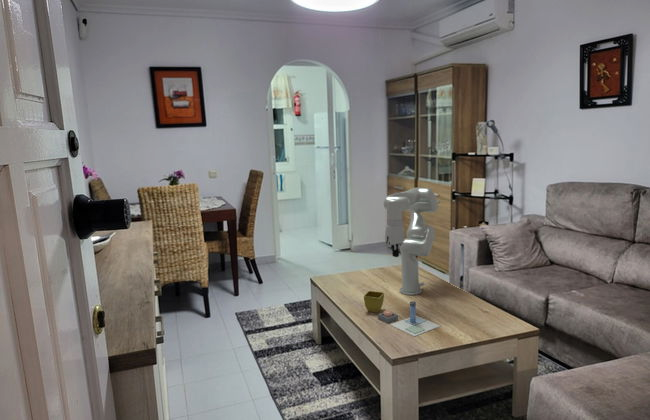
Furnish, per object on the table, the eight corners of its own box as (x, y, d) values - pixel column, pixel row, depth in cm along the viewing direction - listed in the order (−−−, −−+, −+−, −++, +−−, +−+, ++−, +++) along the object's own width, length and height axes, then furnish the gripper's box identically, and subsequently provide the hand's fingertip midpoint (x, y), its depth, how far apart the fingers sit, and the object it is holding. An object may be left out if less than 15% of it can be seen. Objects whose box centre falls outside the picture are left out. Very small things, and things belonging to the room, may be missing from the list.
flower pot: (385, 308, 233) (384, 292, 231) (379, 314, 225) (379, 298, 223) (369, 306, 236) (368, 290, 235) (363, 312, 228) (363, 296, 227)
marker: (413, 320, 215) (413, 300, 213) (417, 322, 212) (417, 302, 210) (408, 321, 213) (408, 302, 211) (412, 323, 211) (412, 304, 209)
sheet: (415, 316, 221) (415, 315, 221) (440, 326, 208) (440, 325, 207) (390, 325, 212) (390, 324, 211) (414, 336, 198) (414, 335, 198)
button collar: (388, 315, 223) (388, 310, 223) (398, 319, 218) (398, 314, 217) (378, 318, 220) (378, 314, 219) (387, 323, 214) (387, 318, 213)
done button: (388, 314, 221) (388, 309, 221) (394, 317, 218) (394, 312, 217) (381, 316, 219) (381, 311, 219) (387, 319, 215) (387, 314, 215)
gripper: (400, 219, 236) (401, 252, 239) (379, 223, 228) (380, 257, 231) (410, 221, 230) (410, 255, 233) (388, 225, 222) (389, 260, 225)
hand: (395, 256), depth 232 cm, fingers closed
